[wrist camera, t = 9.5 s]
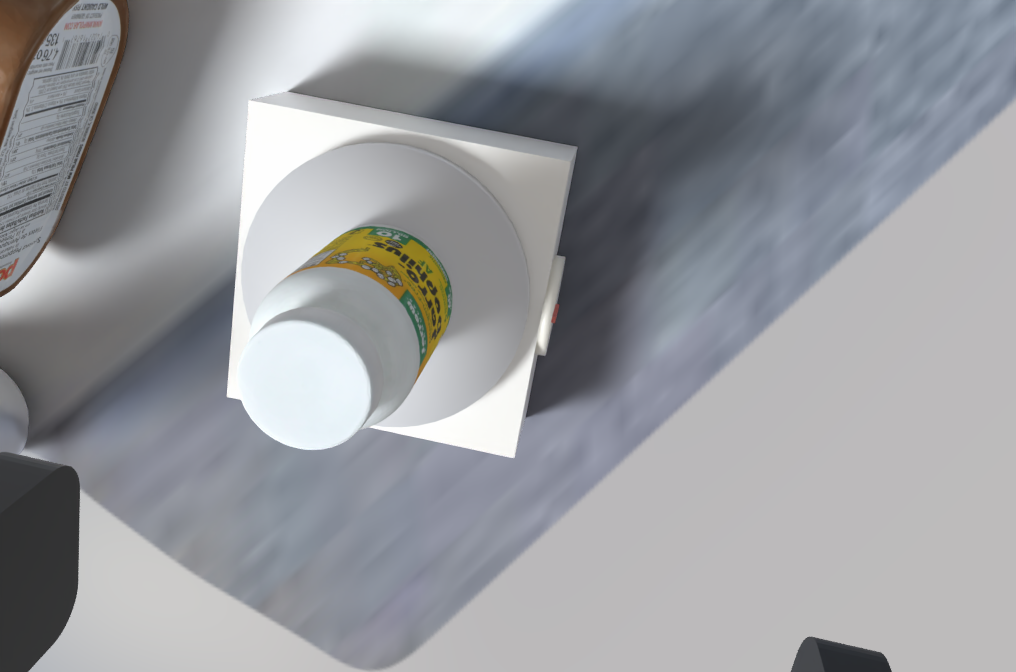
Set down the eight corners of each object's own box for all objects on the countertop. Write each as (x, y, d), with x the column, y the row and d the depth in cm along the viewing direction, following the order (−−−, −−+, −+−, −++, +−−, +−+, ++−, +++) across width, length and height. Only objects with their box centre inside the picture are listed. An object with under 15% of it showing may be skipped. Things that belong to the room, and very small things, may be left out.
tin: (99, -58, 38) (-44, -76, 30) (169, -17, 38) (45, -24, 30) (-13, 258, 43) (-161, 314, 35) (49, 293, 43) (-84, 357, 35)
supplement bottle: (289, 273, 36) (172, 360, 27) (397, 192, 35) (312, 255, 26) (377, 383, 37) (292, 503, 28) (486, 309, 36) (433, 411, 27)
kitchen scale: (286, 91, 39) (240, 102, 34) (591, 149, 38) (584, 168, 33) (263, 363, 43) (218, 404, 38) (537, 420, 42) (525, 470, 38)
